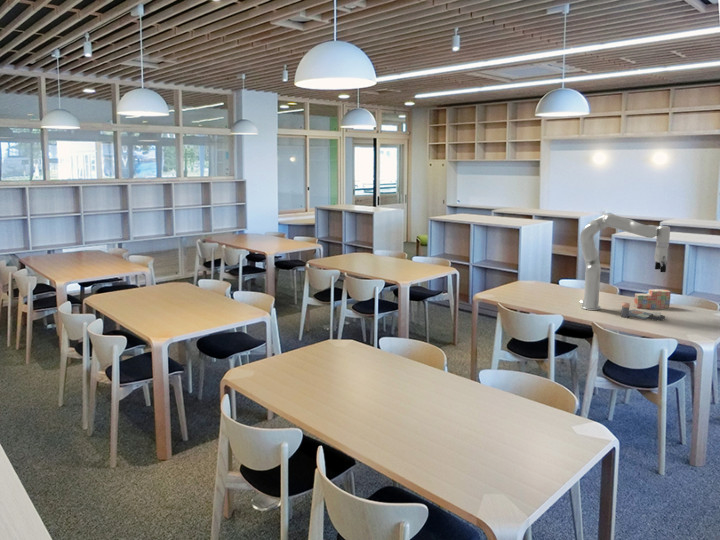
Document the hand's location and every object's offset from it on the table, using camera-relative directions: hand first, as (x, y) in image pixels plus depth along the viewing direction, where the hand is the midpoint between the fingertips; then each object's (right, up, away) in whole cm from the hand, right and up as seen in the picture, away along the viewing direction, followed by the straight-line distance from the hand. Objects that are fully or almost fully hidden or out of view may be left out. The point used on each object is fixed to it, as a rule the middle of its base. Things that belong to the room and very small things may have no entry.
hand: (660, 270), depth 389 cm
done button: (-6, -29, -9) cm, 31 cm away
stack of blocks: (+5, -26, +21) cm, 34 cm away
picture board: (-13, -29, +2) cm, 32 cm away
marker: (-24, -30, -2) cm, 39 cm away
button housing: (-6, -31, -8) cm, 33 cm away
